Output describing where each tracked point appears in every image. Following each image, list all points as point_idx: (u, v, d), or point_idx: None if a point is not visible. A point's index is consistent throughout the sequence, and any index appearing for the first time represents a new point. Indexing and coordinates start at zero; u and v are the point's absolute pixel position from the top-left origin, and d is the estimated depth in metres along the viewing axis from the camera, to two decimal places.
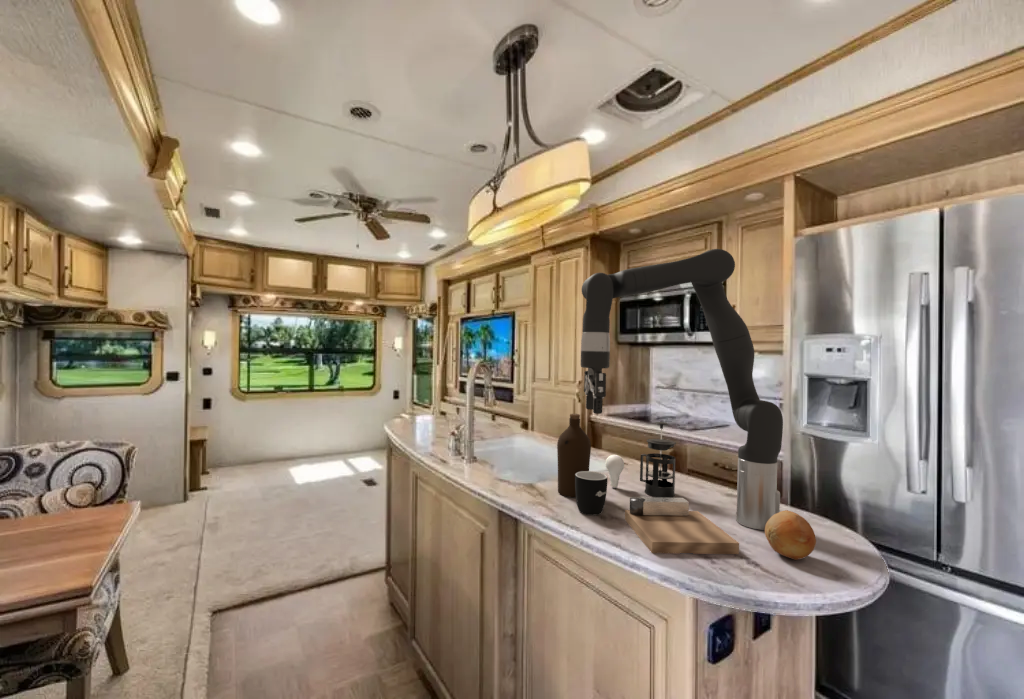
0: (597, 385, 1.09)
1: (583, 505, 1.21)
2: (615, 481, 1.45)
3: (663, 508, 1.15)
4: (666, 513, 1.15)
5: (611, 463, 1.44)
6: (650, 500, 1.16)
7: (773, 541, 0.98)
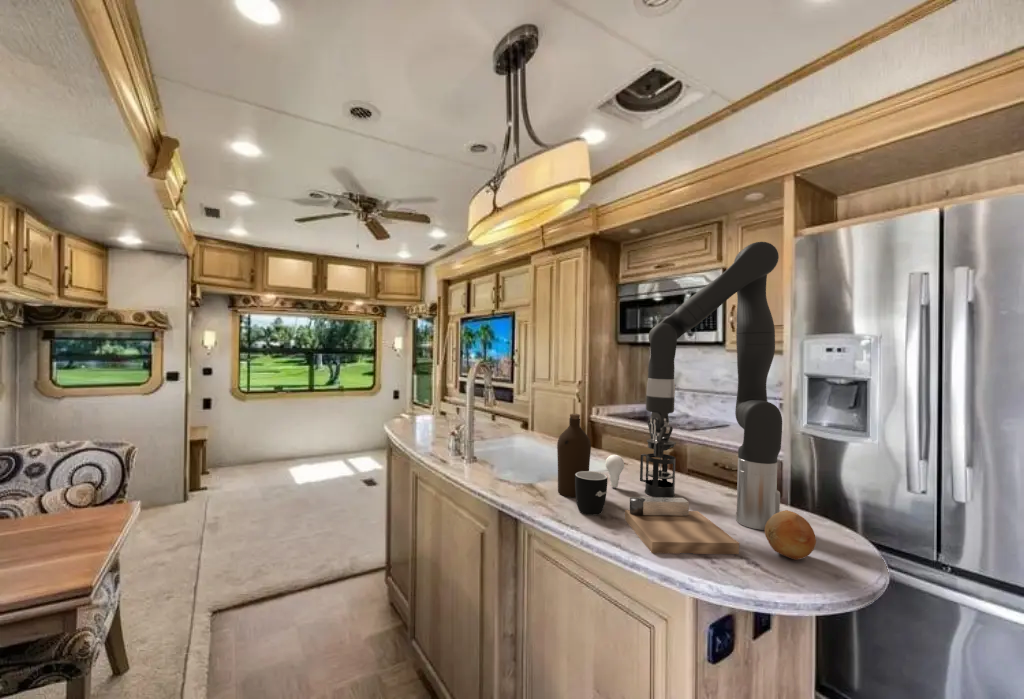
0: (662, 436, 1.19)
1: (583, 505, 1.21)
2: (615, 481, 1.45)
3: (663, 508, 1.15)
4: (666, 513, 1.15)
5: (611, 463, 1.44)
6: (650, 500, 1.16)
7: (773, 541, 0.98)
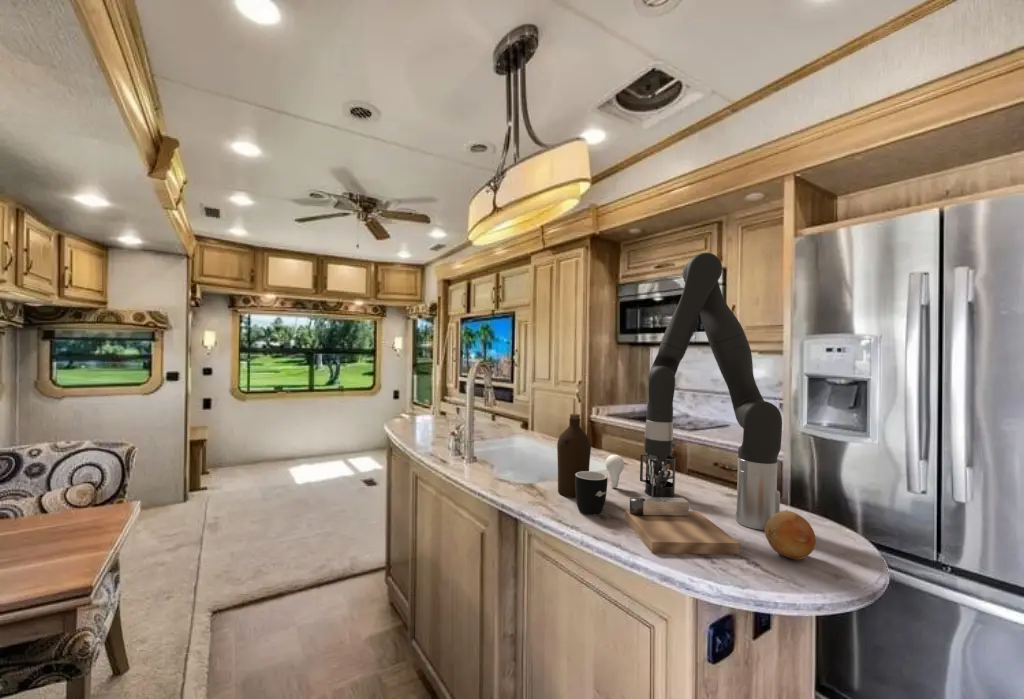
0: (660, 480, 1.19)
1: (583, 505, 1.21)
2: (615, 481, 1.45)
3: (663, 508, 1.15)
4: (666, 513, 1.15)
5: (611, 463, 1.44)
6: (650, 500, 1.16)
7: (773, 541, 0.98)
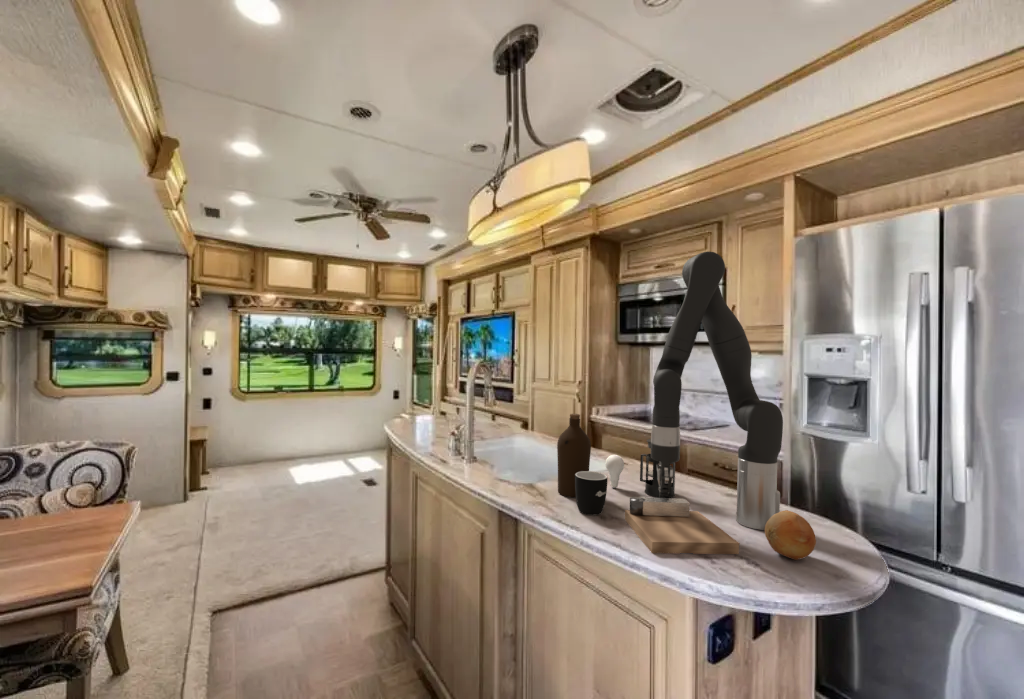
0: (662, 486, 1.16)
1: (583, 505, 1.21)
2: (615, 481, 1.45)
3: (663, 509, 1.14)
4: (666, 514, 1.14)
5: (611, 463, 1.44)
6: (650, 500, 1.15)
7: (773, 541, 0.98)
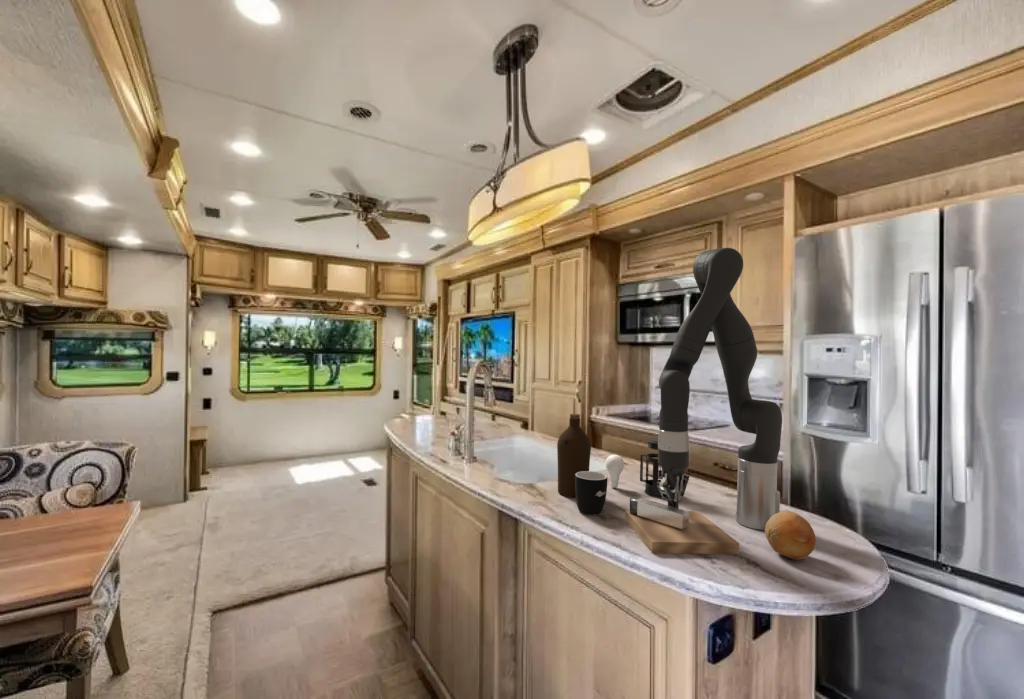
0: (661, 492, 1.11)
1: (583, 505, 1.21)
2: (615, 481, 1.45)
3: (656, 514, 1.10)
4: (659, 520, 1.10)
5: (611, 463, 1.44)
6: (646, 503, 1.13)
7: (773, 541, 0.98)
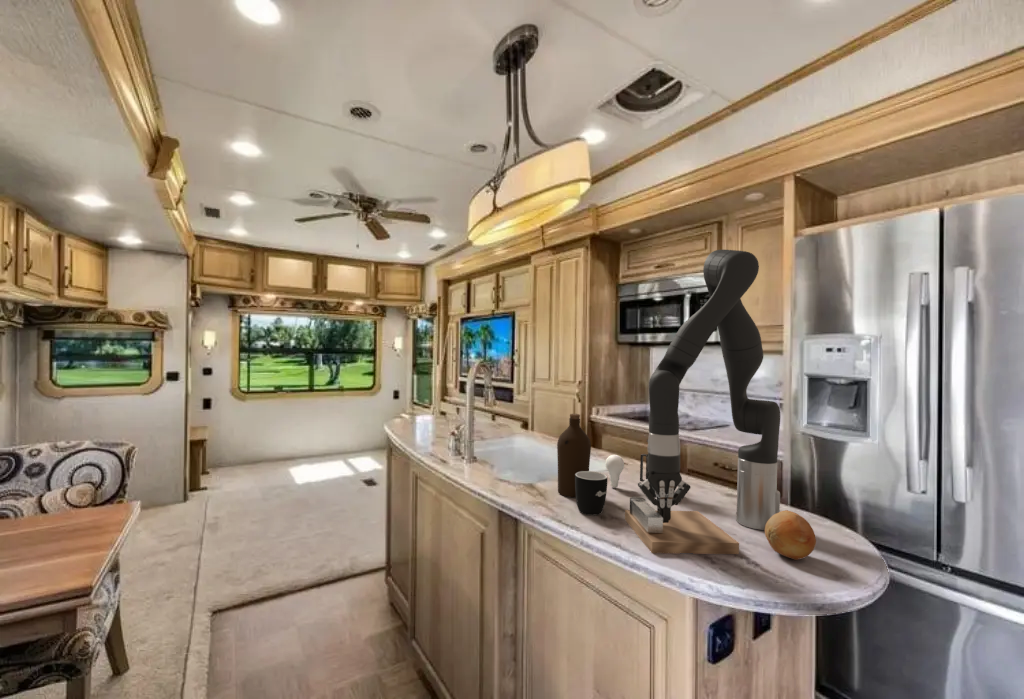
0: None
1: (583, 505, 1.21)
2: (615, 481, 1.45)
3: (638, 514, 1.10)
4: (639, 520, 1.09)
5: (611, 463, 1.44)
6: (638, 503, 1.13)
7: (773, 541, 0.98)
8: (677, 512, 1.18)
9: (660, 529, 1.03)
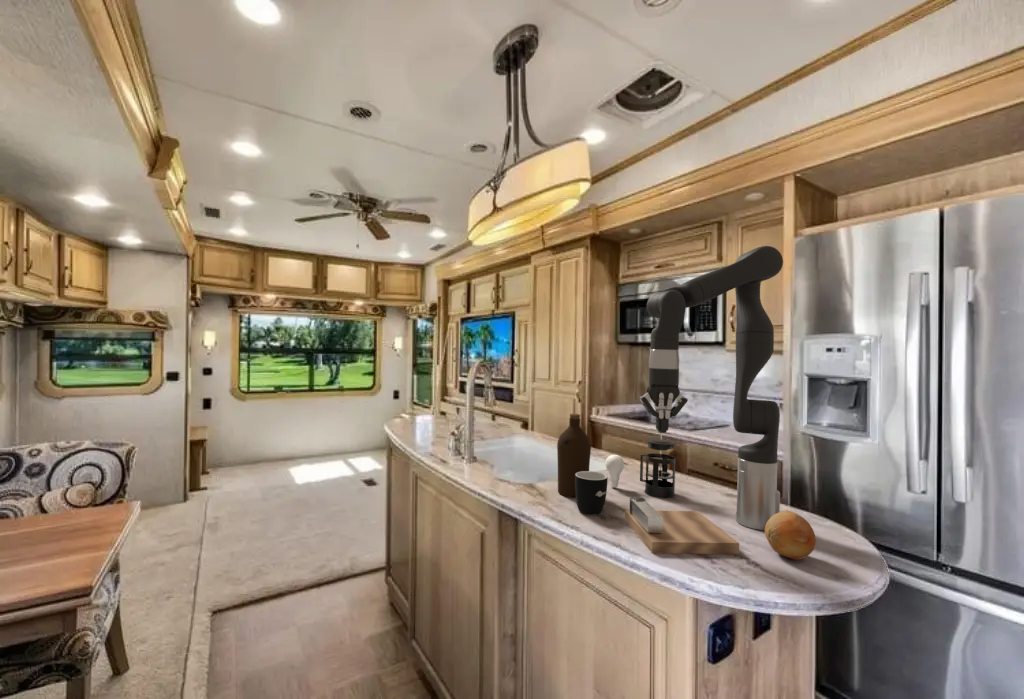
0: (645, 407, 1.17)
1: (583, 505, 1.21)
2: (615, 481, 1.45)
3: (638, 514, 1.10)
4: (639, 520, 1.09)
5: (611, 463, 1.44)
6: (638, 503, 1.13)
7: (773, 541, 0.98)
8: (677, 512, 1.18)
9: (660, 529, 1.03)
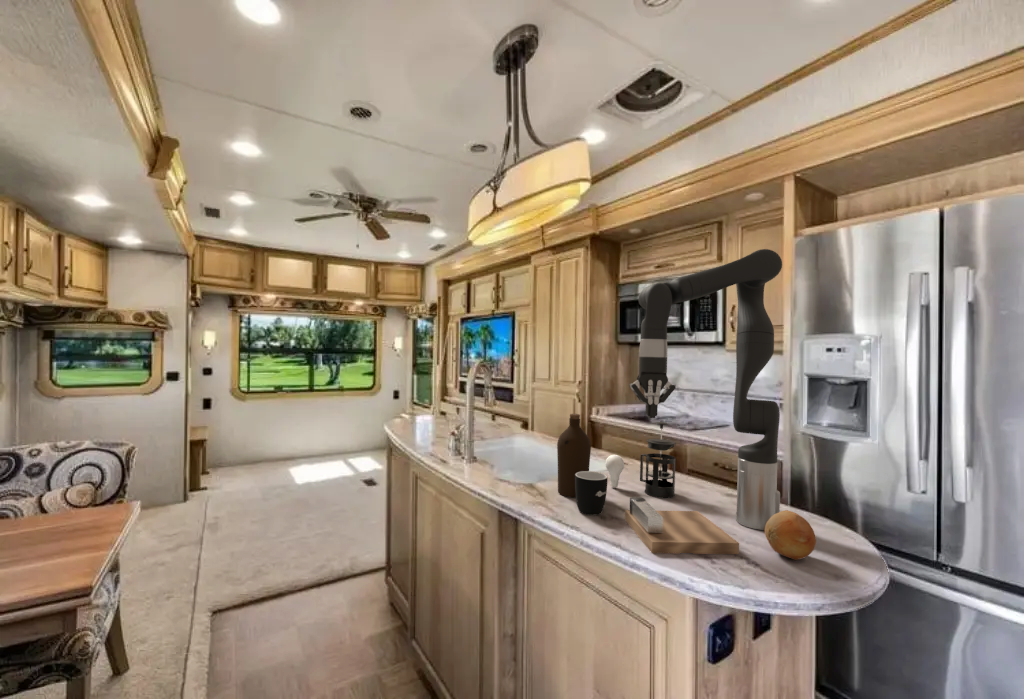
0: (635, 394, 1.24)
1: (583, 505, 1.21)
2: (615, 481, 1.45)
3: (638, 514, 1.10)
4: (639, 520, 1.09)
5: (611, 463, 1.44)
6: (638, 503, 1.13)
7: (773, 541, 0.98)
8: (677, 512, 1.18)
9: (660, 529, 1.03)
